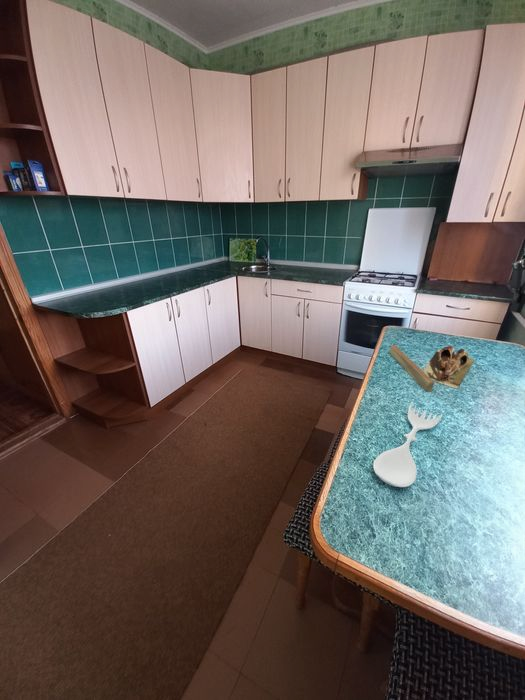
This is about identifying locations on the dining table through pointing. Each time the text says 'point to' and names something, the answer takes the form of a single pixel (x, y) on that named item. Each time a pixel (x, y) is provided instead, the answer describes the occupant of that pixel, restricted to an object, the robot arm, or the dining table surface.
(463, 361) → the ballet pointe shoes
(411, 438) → the spoon
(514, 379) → the dining table surface
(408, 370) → the light brown wooden bar
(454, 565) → the dining table surface
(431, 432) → the dining table surface
